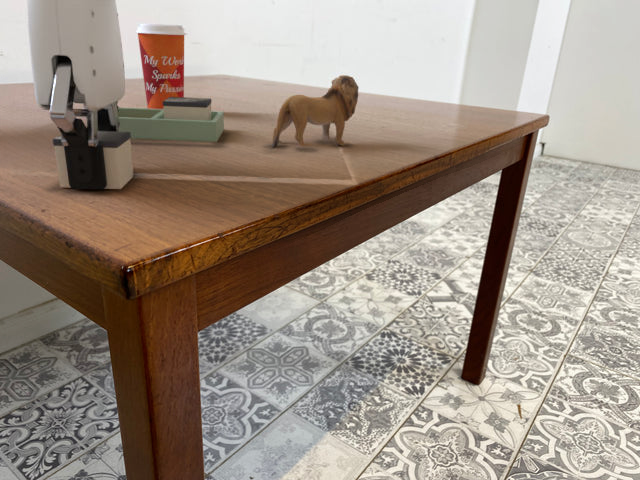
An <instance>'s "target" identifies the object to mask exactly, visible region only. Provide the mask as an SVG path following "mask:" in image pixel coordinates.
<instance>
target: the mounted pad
mask: <svg viewBox="0 0 640 480" xmlns="http://www.w3.org/2000/svg"><path fill="white" fill-rule="evenodd" d="M163 106H164V119H180V120H205V121H212V119H211V111H212V98H206V97H205V98H204V97H185V96H184V97H169V98H167V99H166V100H164V101H163Z"/></svg>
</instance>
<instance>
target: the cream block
mask: <svg viewBox="0 0 640 480" xmlns="http://www.w3.org/2000/svg"><path fill="white" fill-rule="evenodd" d="M130 138H131V133H130V132H115V131H98V145H103V152H104V161H105V170H106V180H107V186H106V187H105V188H104V189H103V190H122V188H124V187H125V186H126V185H127V184H128V183H129V182H130V181H131V180H132V179H133V178H134V166H133V165H134V164H133V154H132V141H131V139H130ZM52 145H53V146H54V153H55V160H56V167H57V174H58V181H59V182H58V183H59V187H60V188H66V189H67V188H70V189H72V188H71V187H70V186H69V180H68V172H67V165H66V158H65V151H64V146H63V145H62V142H61V134H60V135H59V136H56V137H54V138H52Z"/></svg>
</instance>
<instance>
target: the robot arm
mask: <svg viewBox="0 0 640 480" xmlns="http://www.w3.org/2000/svg"><path fill="white" fill-rule="evenodd" d="M27 28H28V43H29V52H30V63H31V64H30V65H31V72H32V80H33V81H32V82H33V88H34V89H33V90H34V97H35V101H36V104H37V106H38V107H40V108H41V109H42V110H44V111H49V117H50V119H51V121H52V122H53V124H55V125H56V127H57V129H58V130H59V132H60V135H61V142H62V145H63V146H64V151H65V158H66V165H67V172H68V180H69V186H70V187H71V188H70V189H76V190H77V189H78V190H105V189H104V188H105V187H106V186H107V180H106V170H105V161H104V152H103V145H98V131H115V132H120V122H119V116H118V111H119V110H118V108H119V105H118V104H119V101H120V100H122V99H123V98H124V96H125V94H126V75H125V73H126V72H125V61H124V53H123V43H122V42H123V41H122V35H121V27H120V20H119V13H118V7H117V1H116V0H27ZM74 104H83V108H74ZM82 118H86V125H85V122H84V121H83V119H82Z"/></svg>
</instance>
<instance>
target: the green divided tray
mask: <svg viewBox="0 0 640 480" xmlns="http://www.w3.org/2000/svg"><path fill="white" fill-rule="evenodd" d="M118 107H119V106H118ZM118 110H119V111H118V116H119V122H120V132H130V133H131V138H130V140H131V139H132V140H159V141H185V142H212V143H213V142H214V143H217V142H218V140H219V139H220V137H221V136H222V134H223V132H224V131H225V118H224V117H225V114H224V113H225V112H224V111H219V110H218V111H216V110H211V119H212V121H205V120H180V119H164V109H148V107H147V108H145V107H144V108H143V107H123V106H122V107H121V106H120V107H119V108H118Z"/></svg>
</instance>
